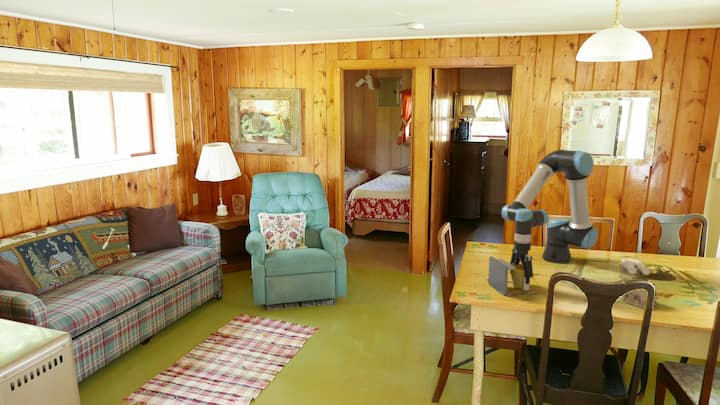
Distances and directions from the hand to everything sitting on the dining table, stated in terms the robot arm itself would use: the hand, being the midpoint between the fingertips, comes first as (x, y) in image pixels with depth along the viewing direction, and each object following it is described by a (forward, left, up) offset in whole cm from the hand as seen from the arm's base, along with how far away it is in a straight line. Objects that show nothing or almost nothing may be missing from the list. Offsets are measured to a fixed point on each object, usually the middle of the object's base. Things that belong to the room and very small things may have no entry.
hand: (520, 285), depth 240 cm
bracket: (+3, 0, -1) cm, 3 cm away
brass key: (+7, -14, -1) cm, 16 cm away
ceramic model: (-41, +30, -1) cm, 51 cm away
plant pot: (0, 0, -1) cm, 1 cm away
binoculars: (-71, -9, -1) cm, 71 cm away
